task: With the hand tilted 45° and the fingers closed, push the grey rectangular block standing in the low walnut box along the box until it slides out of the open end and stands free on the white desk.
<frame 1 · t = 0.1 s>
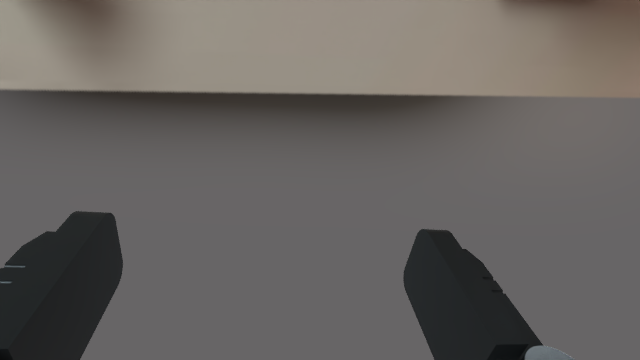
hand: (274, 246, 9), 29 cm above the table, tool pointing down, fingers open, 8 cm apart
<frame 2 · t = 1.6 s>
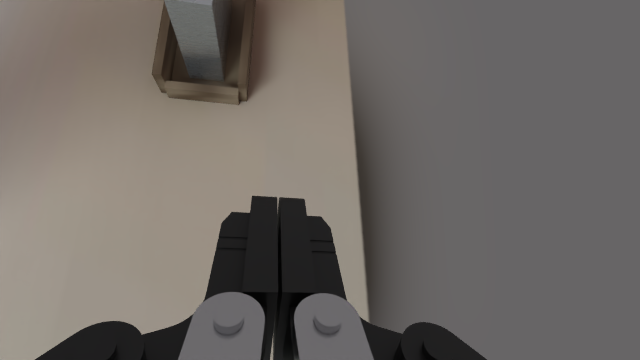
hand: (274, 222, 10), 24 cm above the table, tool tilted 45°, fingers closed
grey rectangular block: (212, 39, 38), resting in walnut box
walnut box: (211, 43, 38), on the table
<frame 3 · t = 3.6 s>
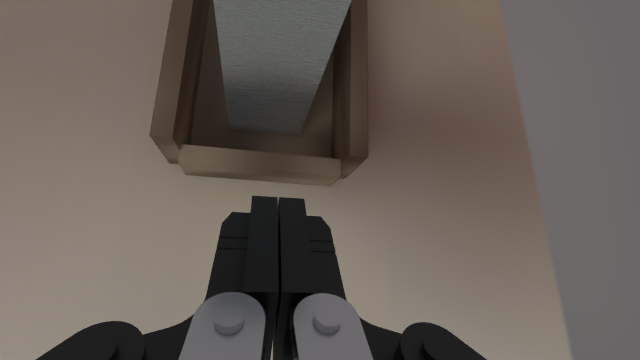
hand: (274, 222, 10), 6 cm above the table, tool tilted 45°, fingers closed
grey rectangular block: (271, 48, 19), resting in walnut box
walnut box: (270, 56, 19), on the table
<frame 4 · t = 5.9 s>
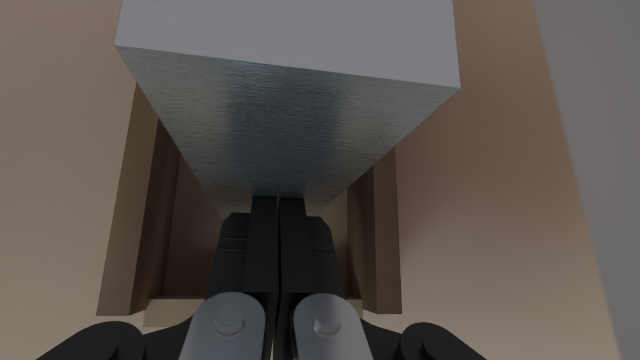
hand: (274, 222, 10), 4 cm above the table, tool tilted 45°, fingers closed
grey rectangular block: (272, 108, 15), resting in walnut box, touching gripper
walnut box: (268, 144, 15), on the table
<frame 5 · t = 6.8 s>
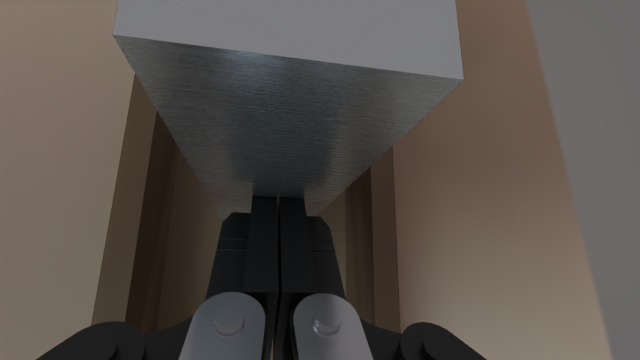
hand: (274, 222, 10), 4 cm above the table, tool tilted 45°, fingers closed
grey rectangular block: (272, 109, 15), on the table, touching gripper
walnut box: (258, 269, 13), on the table
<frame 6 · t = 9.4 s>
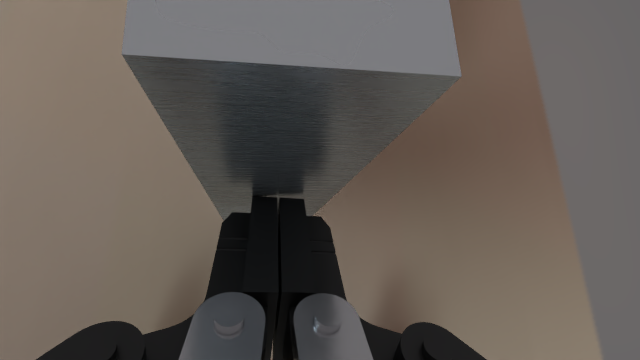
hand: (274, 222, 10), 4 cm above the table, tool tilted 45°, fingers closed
grey rectangular block: (266, 107, 15), on the table, touching gripper
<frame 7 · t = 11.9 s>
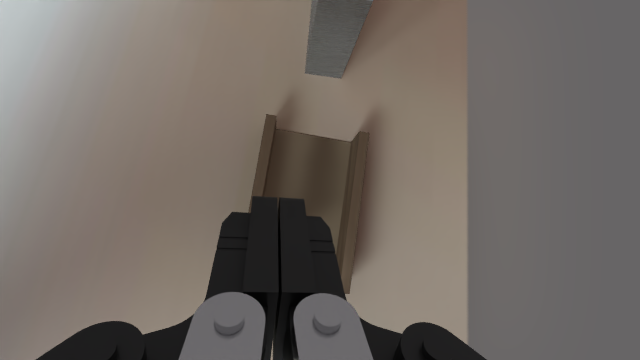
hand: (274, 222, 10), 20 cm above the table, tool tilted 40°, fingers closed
grey rectangular block: (327, 28, 34), on the table
walnut box: (303, 205, 30), on the table
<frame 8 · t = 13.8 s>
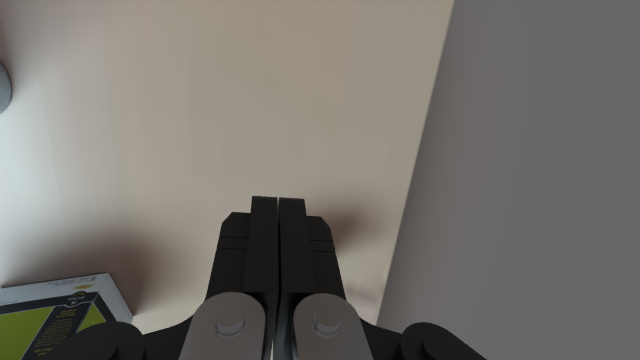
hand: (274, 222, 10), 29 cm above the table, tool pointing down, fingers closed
tea box: (72, 301, 49), on the table
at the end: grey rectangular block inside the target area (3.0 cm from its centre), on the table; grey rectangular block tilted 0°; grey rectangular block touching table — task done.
